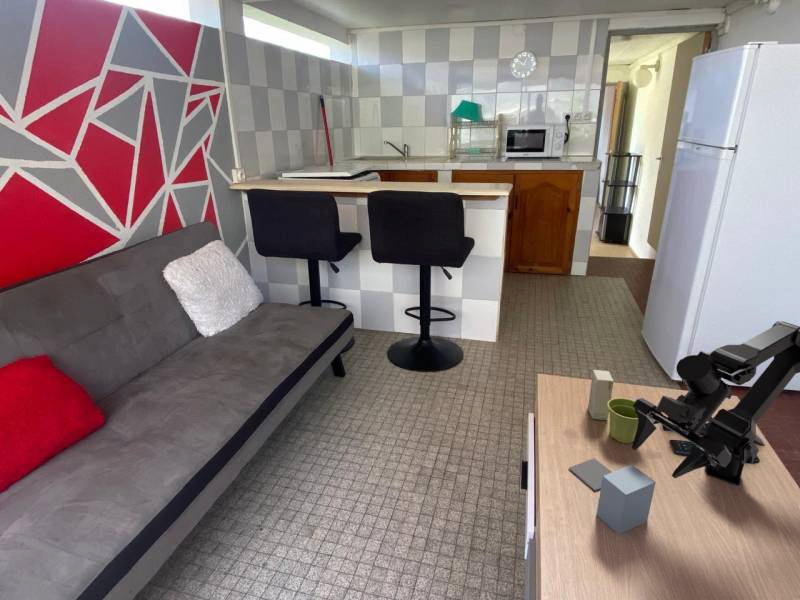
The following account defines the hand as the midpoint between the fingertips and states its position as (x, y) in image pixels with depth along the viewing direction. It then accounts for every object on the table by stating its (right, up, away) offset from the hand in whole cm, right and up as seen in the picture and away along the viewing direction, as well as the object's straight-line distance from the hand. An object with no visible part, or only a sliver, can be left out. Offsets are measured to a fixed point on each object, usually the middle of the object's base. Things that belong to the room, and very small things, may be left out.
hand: (652, 462), depth 94 cm
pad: (-6, -8, +14) cm, 17 cm away
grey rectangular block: (-5, -12, +2) cm, 13 cm away
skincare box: (+5, +1, +37) cm, 37 cm away
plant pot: (+7, -3, +27) cm, 28 cm away
